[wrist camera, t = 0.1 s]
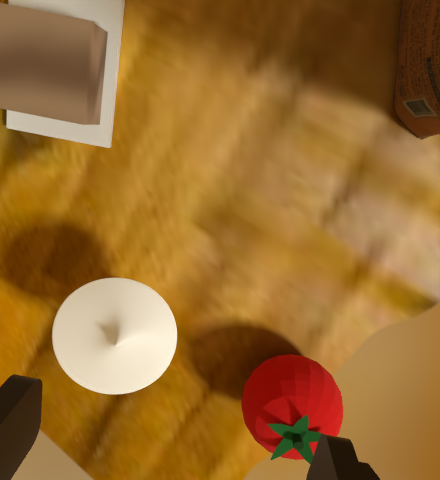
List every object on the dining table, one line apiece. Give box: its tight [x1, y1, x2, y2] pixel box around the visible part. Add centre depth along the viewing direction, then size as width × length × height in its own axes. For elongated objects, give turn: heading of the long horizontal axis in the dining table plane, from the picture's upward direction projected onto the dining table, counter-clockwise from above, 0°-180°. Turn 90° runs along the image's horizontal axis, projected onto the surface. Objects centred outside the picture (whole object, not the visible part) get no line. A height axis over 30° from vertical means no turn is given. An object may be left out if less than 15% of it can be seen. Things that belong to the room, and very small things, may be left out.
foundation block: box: [0, 3, 108, 125], centre depth 33 cm, size 8×8×4 cm
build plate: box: [7, 0, 125, 148], centre depth 34 cm, size 16×10×1 cm, turn 169°
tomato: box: [241, 354, 343, 464], centre depth 39 cm, size 10×10×10 cm
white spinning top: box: [52, 278, 177, 394], centre depth 36 cm, size 10×11×12 cm
